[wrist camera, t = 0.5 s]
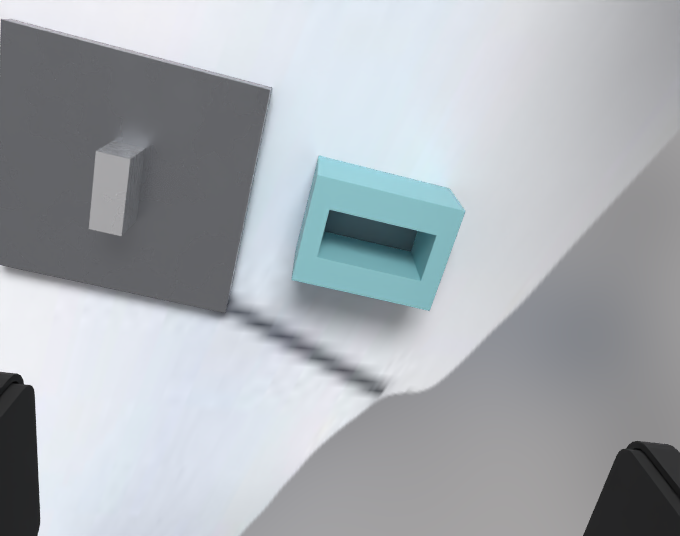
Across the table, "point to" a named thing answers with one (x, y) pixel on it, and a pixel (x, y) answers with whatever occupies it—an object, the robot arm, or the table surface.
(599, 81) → the table surface
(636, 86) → the table surface
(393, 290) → the block with rectangular hole
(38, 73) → the key base
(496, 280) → the table surface
